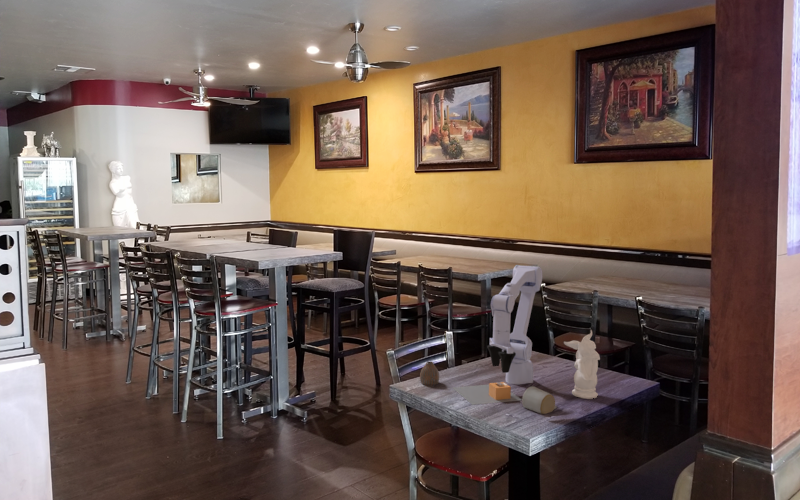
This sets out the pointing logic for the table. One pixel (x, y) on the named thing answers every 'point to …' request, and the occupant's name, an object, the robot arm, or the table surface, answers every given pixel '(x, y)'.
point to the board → (481, 395)
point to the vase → (429, 374)
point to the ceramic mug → (538, 400)
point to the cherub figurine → (585, 367)
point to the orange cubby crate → (499, 391)
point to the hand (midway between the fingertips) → (500, 369)
